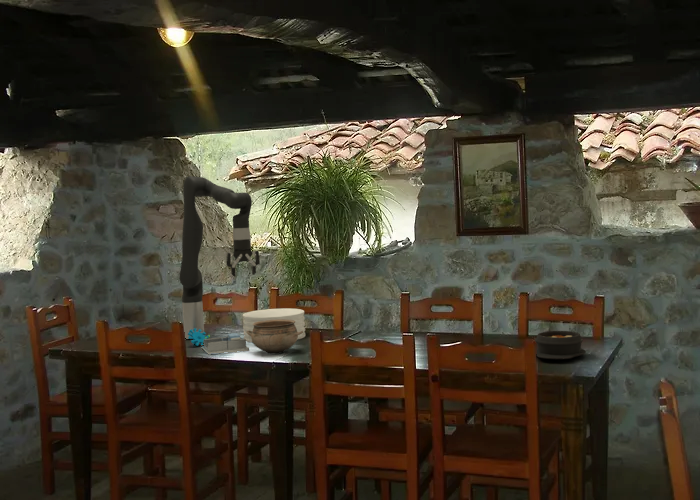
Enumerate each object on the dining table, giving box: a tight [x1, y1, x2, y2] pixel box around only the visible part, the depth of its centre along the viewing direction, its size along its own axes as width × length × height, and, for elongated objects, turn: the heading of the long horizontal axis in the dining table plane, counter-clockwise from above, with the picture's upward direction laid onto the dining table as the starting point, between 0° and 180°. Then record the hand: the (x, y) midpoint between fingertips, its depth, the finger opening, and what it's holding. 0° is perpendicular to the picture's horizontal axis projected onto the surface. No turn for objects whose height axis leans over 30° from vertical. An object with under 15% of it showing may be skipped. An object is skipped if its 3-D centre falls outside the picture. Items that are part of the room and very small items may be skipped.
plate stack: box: [242, 307, 306, 343], centre depth 352 cm, size 28×28×12 cm
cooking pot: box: [246, 319, 303, 355], centre depth 315 cm, size 25×19×12 cm
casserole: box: [534, 330, 587, 361], centre depth 280 cm, size 25×19×8 cm
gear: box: [188, 328, 211, 347], centre depth 340 cm, size 11×6×10 cm
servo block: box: [226, 332, 242, 341], centre depth 328 cm, size 11×4×5 cm, turn 20°
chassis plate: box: [200, 336, 250, 355], centre depth 325 cm, size 16×17×5 cm
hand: (243, 275), depth 336 cm, fingers open, 8 cm apart
